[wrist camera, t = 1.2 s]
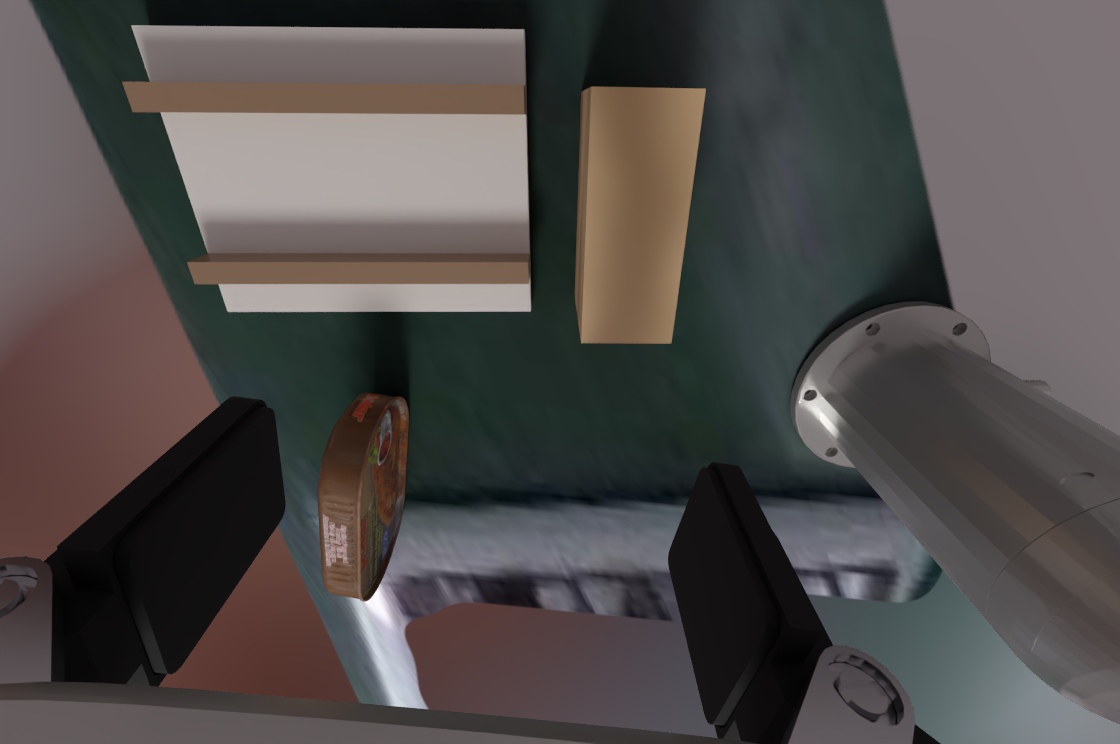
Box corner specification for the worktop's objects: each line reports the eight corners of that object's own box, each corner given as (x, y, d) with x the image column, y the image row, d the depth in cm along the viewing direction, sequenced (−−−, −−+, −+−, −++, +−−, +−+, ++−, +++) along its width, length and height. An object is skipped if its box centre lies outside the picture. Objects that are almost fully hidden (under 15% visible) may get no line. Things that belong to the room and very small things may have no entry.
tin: (402, 533, 40) (369, 631, 32) (362, 528, 39) (319, 626, 32) (413, 373, 33) (372, 450, 25) (364, 365, 32) (309, 442, 25)
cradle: (525, 32, 24) (522, 23, 21) (531, 304, 30) (529, 323, 28) (149, 29, 23) (99, 18, 21) (239, 304, 30) (209, 323, 27)
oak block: (667, 93, 25) (705, 88, 19) (646, 296, 31) (671, 343, 24) (581, 91, 25) (591, 86, 19) (574, 295, 30) (581, 342, 24)
